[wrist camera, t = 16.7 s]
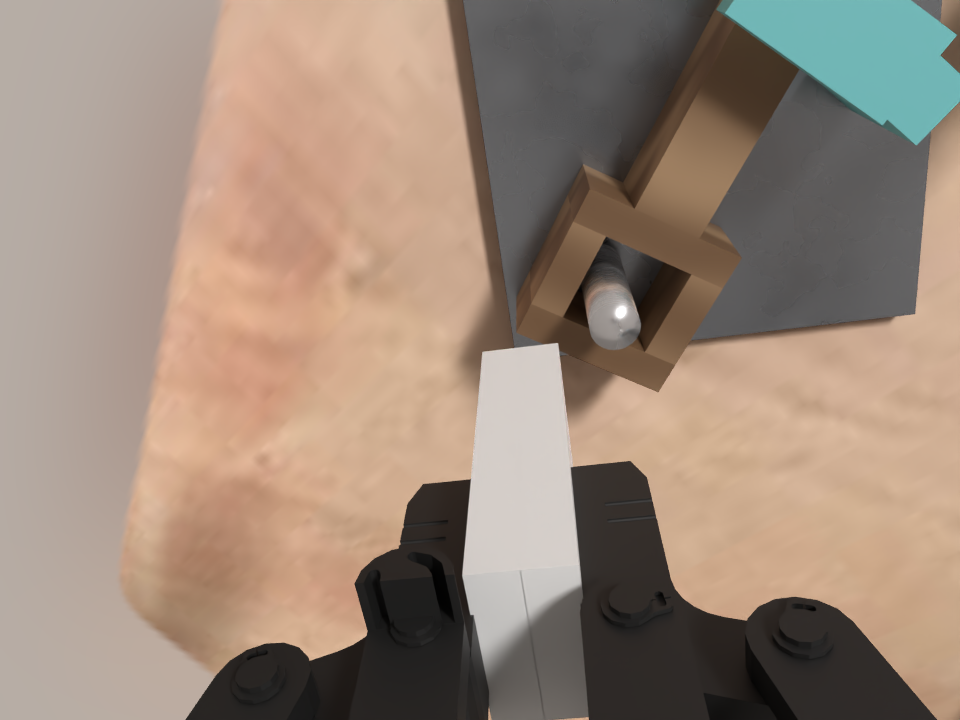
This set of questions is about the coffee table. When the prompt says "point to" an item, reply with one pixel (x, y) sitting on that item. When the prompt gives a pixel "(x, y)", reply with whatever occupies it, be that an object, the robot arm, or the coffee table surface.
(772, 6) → the keeper
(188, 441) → the coffee table surface
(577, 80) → the base
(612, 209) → the link
